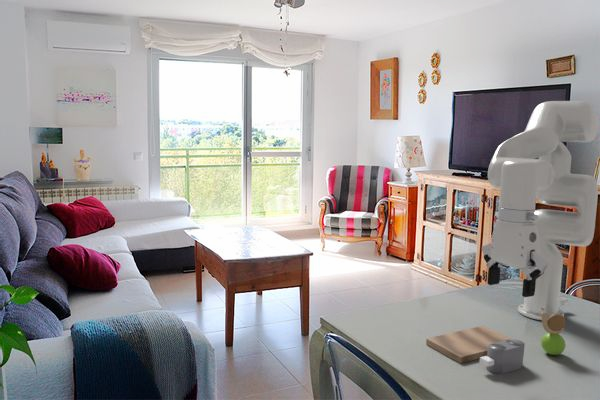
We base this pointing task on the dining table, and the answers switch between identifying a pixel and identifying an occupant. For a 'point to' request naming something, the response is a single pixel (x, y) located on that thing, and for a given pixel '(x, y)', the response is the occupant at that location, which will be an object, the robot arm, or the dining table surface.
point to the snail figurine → (553, 333)
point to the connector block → (504, 356)
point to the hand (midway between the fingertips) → (510, 290)
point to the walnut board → (466, 343)
